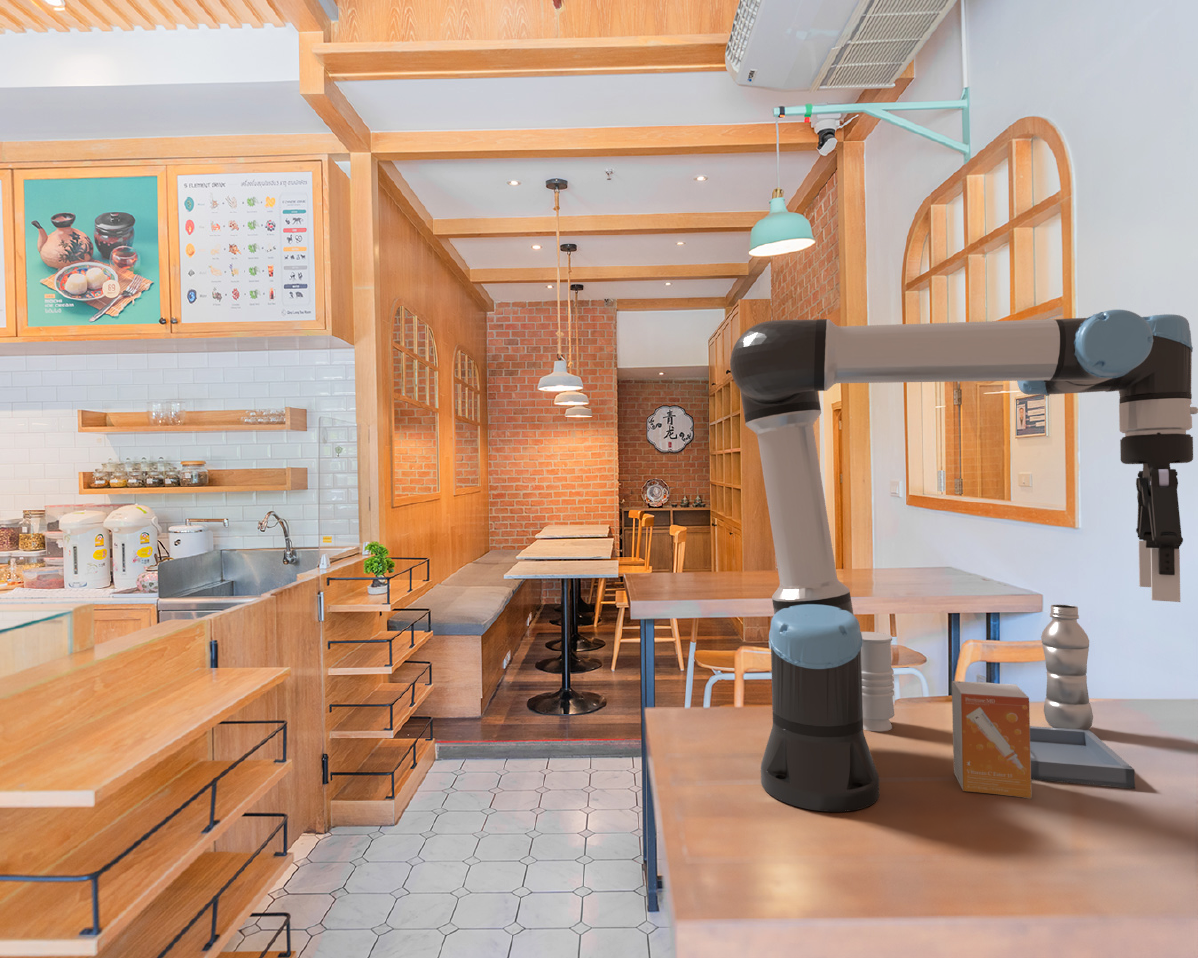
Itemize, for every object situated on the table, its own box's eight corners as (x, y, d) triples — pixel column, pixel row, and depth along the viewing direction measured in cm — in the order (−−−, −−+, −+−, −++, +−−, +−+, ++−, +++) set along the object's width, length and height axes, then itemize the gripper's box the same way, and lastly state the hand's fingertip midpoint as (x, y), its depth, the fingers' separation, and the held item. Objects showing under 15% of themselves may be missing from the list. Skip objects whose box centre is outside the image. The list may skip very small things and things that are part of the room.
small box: (962, 792, 89) (959, 692, 90) (953, 773, 95) (950, 679, 96) (1033, 799, 87) (1030, 696, 87) (1019, 779, 93) (1016, 683, 93)
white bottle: (842, 720, 118) (840, 633, 118) (878, 716, 119) (875, 630, 119) (867, 734, 111) (864, 641, 111) (904, 729, 113) (901, 638, 113)
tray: (1030, 779, 93) (1029, 760, 93) (1000, 739, 107) (1000, 723, 107) (1135, 788, 89) (1134, 769, 89) (1090, 746, 104) (1089, 730, 104)
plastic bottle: (1103, 736, 108) (1099, 609, 108) (1060, 737, 108) (1056, 610, 108) (1075, 722, 114) (1071, 602, 114) (1035, 723, 114) (1031, 603, 115)
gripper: (1211, 425, 79) (1215, 610, 78) (1177, 438, 99) (1179, 583, 99) (1129, 429, 83) (1132, 604, 82) (1112, 440, 104) (1115, 580, 103)
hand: (1158, 593), depth 91 cm, fingers open, 13 cm apart
